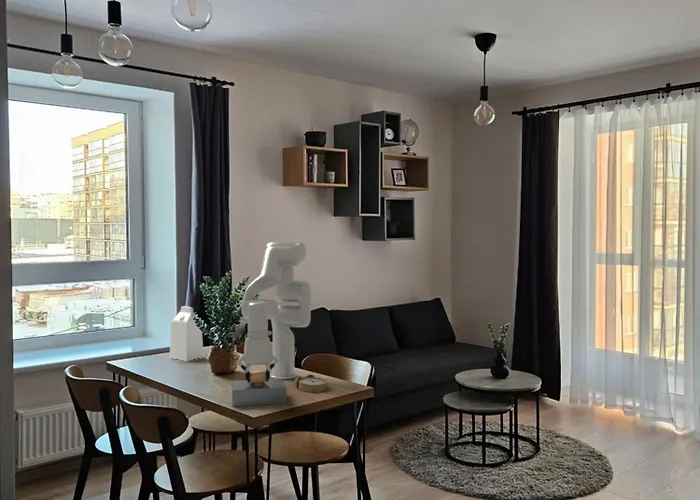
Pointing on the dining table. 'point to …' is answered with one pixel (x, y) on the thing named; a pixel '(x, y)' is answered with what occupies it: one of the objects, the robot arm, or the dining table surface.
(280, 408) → the dining table surface
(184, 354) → the milk
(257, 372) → the peg
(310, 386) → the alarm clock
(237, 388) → the hitch block
